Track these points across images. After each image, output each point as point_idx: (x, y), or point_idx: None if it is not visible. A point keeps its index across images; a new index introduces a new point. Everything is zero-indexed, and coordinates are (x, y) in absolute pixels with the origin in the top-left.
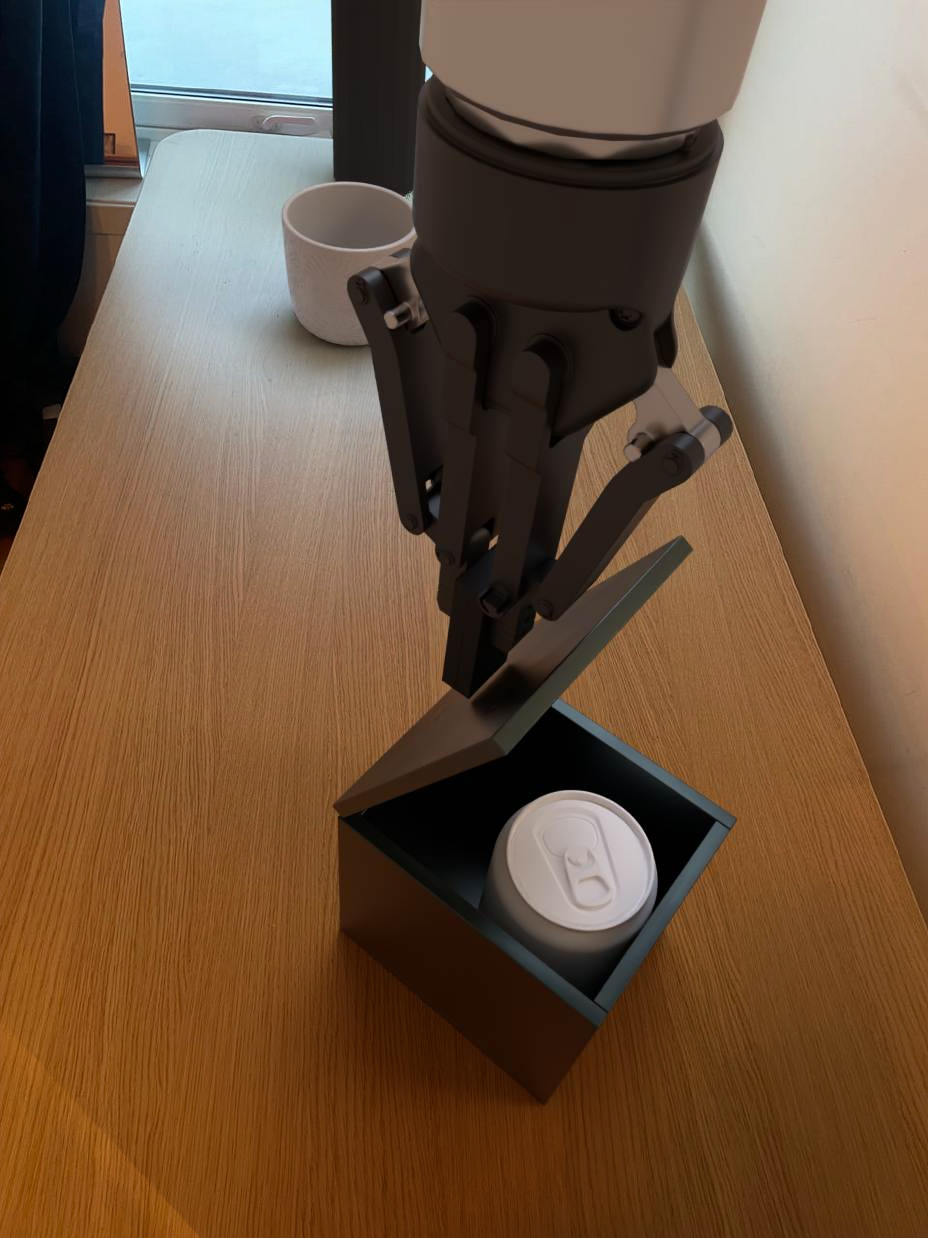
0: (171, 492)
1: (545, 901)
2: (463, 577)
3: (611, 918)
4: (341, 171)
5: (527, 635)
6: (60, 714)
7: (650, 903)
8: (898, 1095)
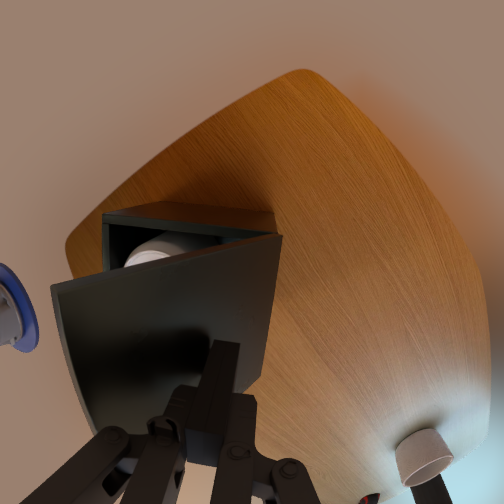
0: (450, 344)
1: (157, 258)
2: (218, 439)
3: None
4: None
5: None
6: (436, 230)
7: None
8: (77, 276)
